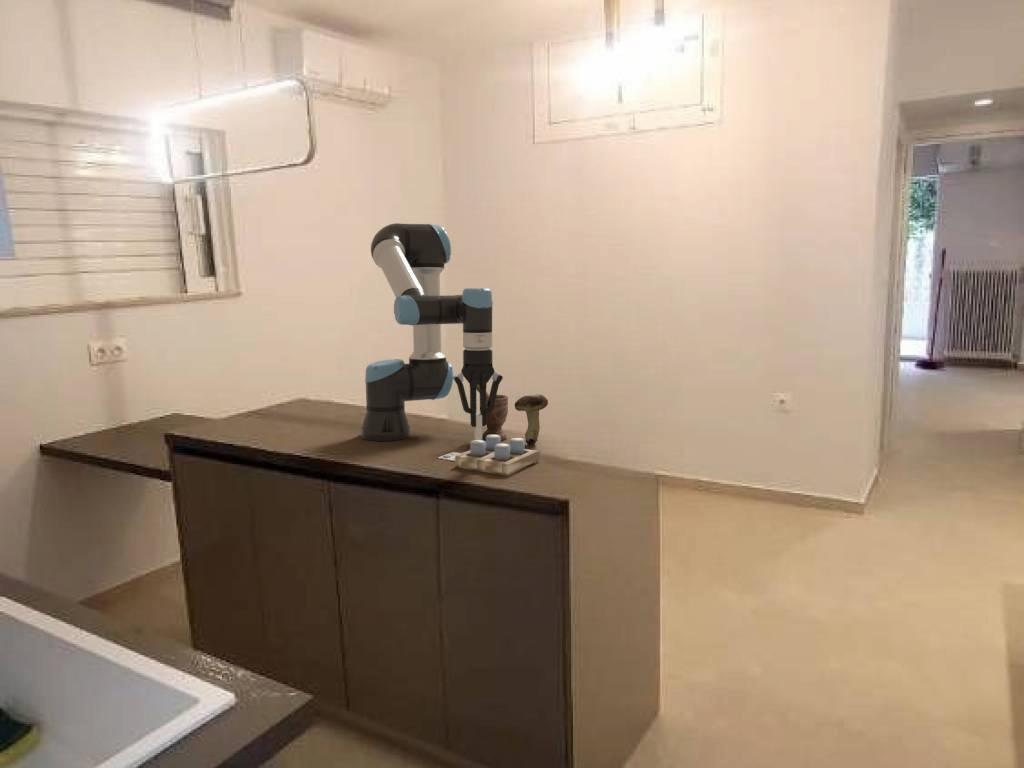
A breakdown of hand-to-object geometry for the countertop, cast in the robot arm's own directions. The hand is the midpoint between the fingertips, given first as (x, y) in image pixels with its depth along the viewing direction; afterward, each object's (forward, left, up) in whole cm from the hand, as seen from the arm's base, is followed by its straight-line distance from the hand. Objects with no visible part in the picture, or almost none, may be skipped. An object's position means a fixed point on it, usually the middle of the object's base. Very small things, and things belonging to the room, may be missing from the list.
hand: (478, 438), depth 187 cm
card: (-10, +4, -7) cm, 13 cm away
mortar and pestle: (-13, +27, -8) cm, 31 cm away
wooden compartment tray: (+4, +4, -7) cm, 9 cm away
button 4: (+7, +8, -5) cm, 11 cm away
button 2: (0, +8, -5) cm, 9 cm away
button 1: (0, 0, -5) cm, 5 cm away
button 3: (+7, 0, -5) cm, 9 cm away
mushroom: (+1, +28, -8) cm, 29 cm away
